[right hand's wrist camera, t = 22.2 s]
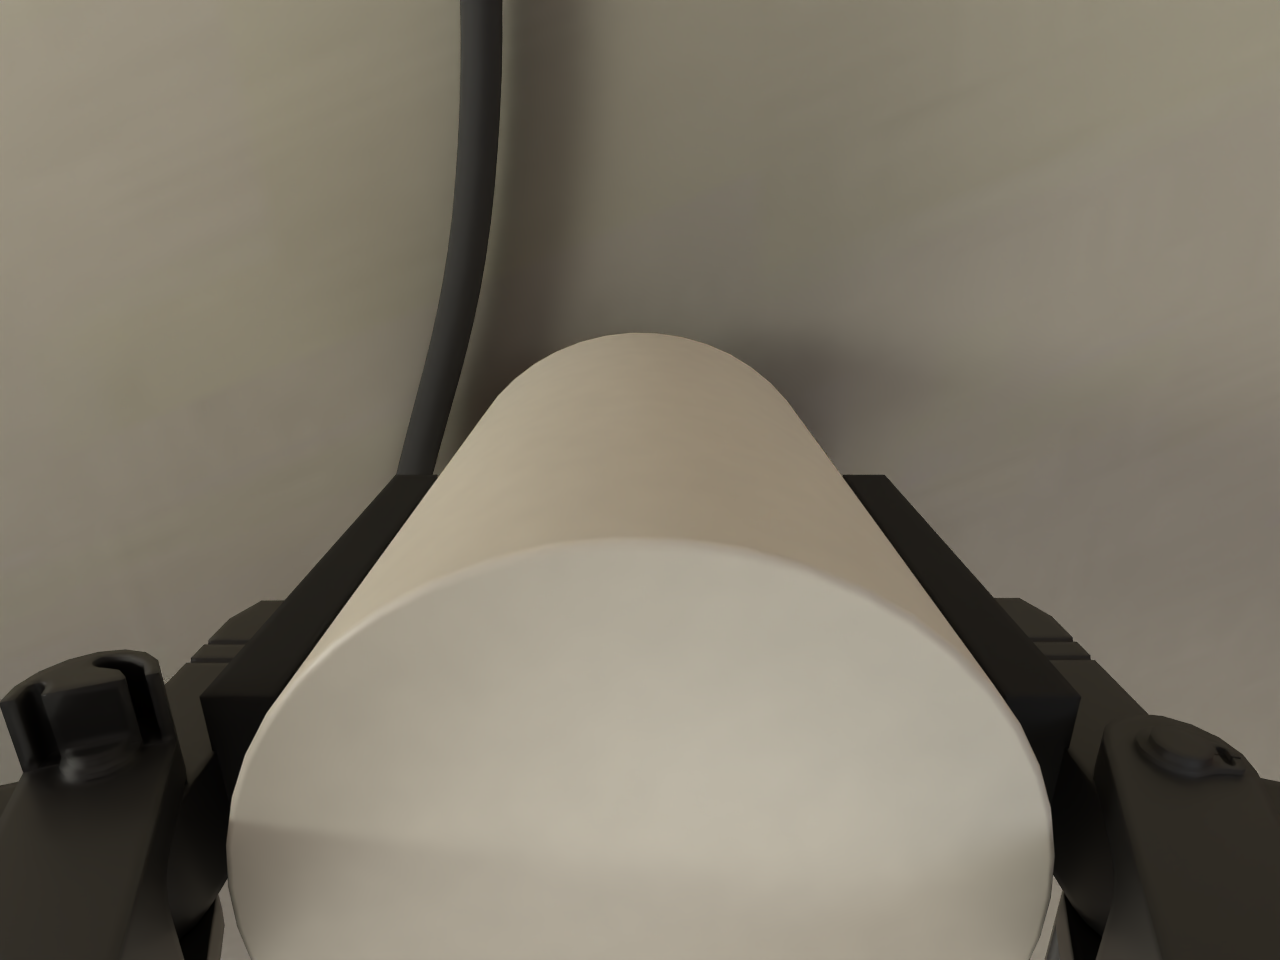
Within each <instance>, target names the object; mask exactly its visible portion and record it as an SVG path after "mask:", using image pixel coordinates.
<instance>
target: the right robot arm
mask: <svg viewBox="0 0 1280 960" xmlns="http://www.w3.org/2000/svg"><path fill="white" fill-rule="evenodd" d="M460 15H461V78H460V111H459V133H458V150H457V166H456V181H455V192H454V203H453V214H452V222H451V230H450V238H449V246H448V253H447V260H446V266H445V272H444V279H443V284H442V289H441V295H440V300H439V305H438V310H437V315H436V319H435V324H434V328H433V333H432V337H431V341H430V345H429V349H428V354H427V358H426V362H425V366H424V370H423V373H422V377H421V381H420V385H419V389H418V393H417V396H416V400H415V404H414V408H413V411H412V415H411V419H410V423H409V427H408V430H407V434H406V438H405V442H404V446H403V450H402V454H401V458H400V462H399V466H398V470H397V474H396V475H395V476H394V478H393V479H392V480H391V481H390V482H389V483H388V484H387V485H386V487H385V488H384V489H383V490H382V491H381V492H380V493H379V494H378V496H377V497H376V498H375V499H374V500H373V501H372V502H371V504H370V505H369V506H368V507H367V508H366V509H365V510H364V511H363V513H362V514H361V515H360V516H359V517H358V518H357V519H356V520H355V522H354V523H353V524H352V525H351V526H350V527H349V528H348V529H347V531H346V532H345V533H344V534H343V535H342V536H341V537H340V538H339V540H338V541H337V542H336V543H335V544H334V545H333V546H332V547H331V549H330V550H329V551H328V552H327V553H326V554H325V555H324V557H323V558H322V559H321V560H320V561H319V562H318V563H317V564H316V566H315V567H314V568H313V569H312V570H311V571H310V572H309V573H308V575H307V576H306V577H305V578H304V579H303V580H302V581H301V582H300V584H299V585H298V586H297V587H296V588H295V589H294V590H293V591H292V593H291V594H290V595H289V596H288V597H287V598H286V599H285V600H284V601H260V602H258V603H256V604H255V605H253V606H251V607H249V608H248V609H246V610H244V611H242V612H241V613H239V614H237V615H235V616H234V617H232V618H230V619H229V620H228V621H227V622H226V623H225V624H224V625H223V626H222V627H221V628H220V629H219V630H218V631H217V632H216V633H215V634H214V635H213V636H212V637H211V638H210V639H209V643H208V645H203V646H202V648H201V649H200V650H199V651H198V652H197V653H196V654H195V655H194V656H193V657H192V658H191V663H186V664H185V665H184V666H183V667H182V668H181V669H180V670H179V671H178V672H177V673H176V674H175V675H174V676H173V677H172V678H171V679H170V680H169V681H168V682H167V683H166V684H165V685H164V681H163V677H162V674H161V670H160V666H159V662H158V660H157V659H155V658H154V657H152V656H151V655H149V654H148V653H146V652H140V651H133V650H115V651H104V652H97V653H93V654H89V655H85V656H81V657H77V658H73V659H69V660H66V661H64V662H61V663H59V664H57V665H54V666H52V667H49V668H47V669H44V670H42V671H39V672H38V673H36V674H34V675H33V676H31V677H29V678H28V679H26V680H25V681H23V682H21V683H20V684H18V685H16V686H15V687H14V688H13V689H12V690H11V691H10V692H9V693H8V694H7V695H6V696H5V697H4V698H3V699H2V700H1V701H0V708H1V710H2V713H3V716H4V719H5V722H6V725H7V727H8V730H9V733H10V736H11V739H12V742H13V745H14V747H15V750H16V753H17V756H18V759H19V762H20V765H21V767H22V770H23V775H22V776H21V778H20V780H19V782H15V783H11V784H6V785H1V786H0V960H220V957H221V949H222V942H223V934H224V926H225V925H224V918H223V911H222V906H221V902H220V899H219V895H218V893H219V892H220V890H221V888H222V887H223V885H224V883H225V882H226V880H227V878H228V872H227V853H226V842H227V833H228V825H229V817H230V809H231V801H232V795H233V792H234V789H235V786H236V782H237V779H238V776H239V773H240V770H241V766H242V763H243V760H244V757H245V754H246V752H247V750H248V748H249V746H250V744H251V742H252V740H253V738H254V737H255V735H256V733H257V731H258V729H259V727H260V725H261V723H262V721H263V719H264V717H265V715H266V713H267V712H268V711H269V709H270V708H271V706H272V705H273V704H274V702H275V701H276V700H277V698H278V697H279V695H280V694H281V693H282V691H283V690H284V689H285V687H286V686H287V684H288V683H289V682H290V680H291V679H292V678H293V676H294V675H295V673H296V672H297V671H298V669H299V668H300V667H301V665H302V664H303V662H304V661H305V660H306V658H307V657H308V656H309V654H310V653H311V651H312V650H313V649H314V647H315V646H316V645H317V643H318V642H319V640H320V639H321V638H322V636H323V635H324V634H325V632H326V631H327V629H328V628H329V627H330V625H331V624H332V623H333V621H334V620H335V619H336V617H337V616H338V614H339V613H340V612H341V610H342V609H343V608H344V606H345V605H346V603H347V602H348V601H349V599H350V598H351V597H352V595H353V594H354V592H355V591H356V590H357V588H358V587H359V586H360V584H361V583H362V581H363V580H364V579H365V577H366V576H367V575H368V573H369V572H370V570H371V569H372V568H373V566H374V565H375V564H376V562H377V561H378V559H379V558H380V557H381V555H382V554H383V553H384V551H385V550H386V548H387V547H388V546H389V544H390V543H391V542H392V540H393V539H394V537H395V536H396V535H397V533H398V532H399V531H400V529H401V528H402V526H403V525H404V524H405V522H406V521H407V520H408V518H409V517H410V515H411V514H412V513H413V511H414V510H415V509H416V507H417V506H418V505H419V503H420V502H421V500H422V499H423V498H424V496H425V495H426V494H427V492H428V491H429V489H430V488H431V487H432V485H433V484H434V483H435V481H436V480H437V478H438V475H433V471H434V467H435V464H436V460H437V456H438V453H439V449H440V445H441V442H442V438H443V435H444V431H445V427H446V424H447V420H448V417H449V413H450V410H451V406H452V403H453V399H454V395H455V392H456V388H457V385H458V381H459V377H460V374H461V370H462V366H463V362H464V358H465V355H466V351H467V347H468V343H469V339H470V334H471V330H472V326H473V322H474V317H475V312H476V308H477V303H478V298H479V293H480V288H481V282H482V277H483V271H484V265H485V260H486V253H487V246H488V239H489V232H490V224H491V215H492V206H493V197H494V187H495V175H496V163H497V151H498V136H499V120H500V101H501V77H502V0H460ZM843 478H844V480H845V481H846V483H847V484H848V485H849V487H850V488H851V489H852V491H853V492H854V494H855V495H856V496H857V498H858V499H859V500H860V502H861V503H862V505H863V506H864V507H865V509H866V510H867V511H868V513H869V514H870V516H871V517H872V518H873V520H874V521H875V522H876V524H877V525H878V527H879V528H880V529H881V531H882V532H883V533H884V535H885V536H886V538H887V539H888V540H889V542H890V543H891V544H892V546H893V547H894V549H895V550H896V551H897V553H898V554H899V555H900V557H901V558H902V560H903V561H904V562H905V564H906V565H907V566H908V568H909V569H910V571H911V572H912V573H913V575H914V576H915V577H916V579H917V580H918V582H919V583H920V584H921V586H922V587H923V588H924V590H925V591H926V593H927V594H928V595H929V597H930V598H931V599H932V601H933V602H934V604H935V605H936V606H937V608H938V609H939V610H940V612H941V613H942V615H943V616H944V617H945V619H946V620H947V621H948V623H949V624H950V626H951V627H952V628H953V630H954V631H955V632H956V634H957V635H958V637H959V638H960V639H961V641H962V642H963V643H964V645H965V646H966V648H967V649H968V650H969V652H970V653H971V654H972V656H973V657H974V659H975V660H976V661H977V663H978V664H979V665H980V667H981V668H982V670H983V671H984V672H985V674H986V675H987V676H988V678H989V679H990V681H991V682H992V683H993V685H994V686H995V688H996V689H997V691H998V692H999V693H1000V695H1001V696H1002V698H1003V699H1004V701H1005V702H1006V704H1007V705H1008V707H1009V708H1010V709H1011V711H1012V712H1013V714H1014V715H1015V717H1016V718H1017V720H1018V721H1019V723H1020V724H1021V726H1022V728H1023V731H1024V733H1025V735H1026V737H1027V739H1028V741H1029V744H1030V746H1031V748H1032V750H1033V752H1034V754H1035V757H1036V759H1037V761H1038V763H1039V765H1040V769H1041V773H1042V776H1043V780H1044V784H1045V788H1046V792H1047V795H1048V799H1049V803H1050V807H1051V815H1052V828H1053V840H1054V853H1055V859H1054V870H1053V875H1054V877H1055V878H1056V880H1057V882H1058V883H1059V885H1060V887H1061V888H1062V890H1063V891H1062V895H1061V899H1060V902H1059V906H1058V910H1057V914H1056V918H1055V922H1054V926H1053V930H1052V933H1051V937H1050V941H1049V945H1048V949H1047V953H1046V957H1045V960H1280V782H1277V781H1272V780H1267V779H1263V778H1260V777H1259V775H1258V773H1257V771H1256V770H1255V769H1254V768H1253V767H1252V765H1251V764H1250V763H1249V762H1248V760H1247V759H1246V758H1245V757H1244V756H1243V754H1241V753H1240V752H1239V751H1237V750H1236V749H1234V748H1233V747H1232V746H1230V745H1229V744H1227V743H1226V742H1225V741H1223V740H1222V739H1220V738H1219V737H1217V736H1215V735H1212V734H1210V733H1208V732H1206V731H1204V730H1202V729H1200V728H1198V727H1196V726H1193V725H1191V724H1188V723H1184V722H1181V721H1178V720H1174V719H1171V718H1167V717H1164V716H1156V715H1148V714H1147V712H1146V711H1145V710H1144V709H1143V708H1142V707H1141V706H1140V705H1139V704H1138V703H1137V702H1136V701H1135V700H1134V699H1133V698H1132V697H1131V696H1130V695H1129V694H1128V693H1127V692H1126V691H1125V690H1124V689H1123V688H1122V687H1121V686H1120V685H1119V684H1118V683H1117V682H1116V681H1115V680H1114V679H1113V678H1112V677H1111V676H1110V675H1109V674H1108V673H1107V672H1106V671H1105V670H1104V669H1103V668H1102V667H1101V666H1100V665H1099V664H1098V663H1097V662H1096V661H1095V660H1091V659H1090V655H1089V654H1088V653H1087V652H1086V651H1085V650H1084V649H1083V648H1082V647H1081V646H1080V645H1079V644H1078V643H1077V642H1073V638H1072V636H1071V635H1070V634H1069V633H1068V632H1067V631H1066V630H1065V629H1064V628H1063V627H1062V626H1061V625H1060V624H1059V623H1058V622H1057V621H1056V620H1055V619H1054V618H1053V617H1052V616H1050V615H1048V614H1047V613H1045V612H1043V611H1041V610H1040V609H1038V608H1036V607H1034V606H1032V605H1031V604H1029V603H1027V602H1025V601H1024V600H1022V599H1020V598H993V596H992V595H991V594H990V593H989V592H988V591H987V590H986V589H985V587H984V586H983V585H982V584H981V583H980V582H979V581H978V580H977V578H976V577H975V576H974V575H973V574H972V573H971V572H970V571H969V569H968V568H967V567H966V566H965V565H964V564H963V563H962V562H961V560H960V559H959V558H958V557H957V556H956V555H955V554H954V553H953V551H952V550H951V549H950V548H949V547H948V546H947V545H946V543H945V542H944V541H943V540H942V539H941V538H940V537H939V536H938V534H937V533H936V532H935V531H934V530H933V529H932V528H931V527H930V525H929V524H928V523H927V522H926V521H925V520H924V519H923V518H922V516H921V515H920V514H919V513H918V512H917V511H916V510H915V509H914V507H913V506H912V505H911V504H910V503H909V502H908V501H907V500H906V498H905V497H904V496H903V495H902V494H901V493H900V492H899V491H898V489H897V488H896V487H895V486H894V485H893V484H892V483H891V482H890V480H889V479H888V478H887V477H886V476H885V475H843Z"/></svg>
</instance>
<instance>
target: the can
mask: <svg viewBox="0 0 1280 960" xmlns="http://www.w3.org/2000/svg"><path fill="white" fill-rule="evenodd" d="M226 853H227V872H228V888H229V892H230V896H231V901H232V905H233V909H234V914H235V918H236V923H237V927H238V929H239V932H240V934H241V937H242V939H243V941H244V944H245V946H246V949H247V951H248V954H249V956H250V959H251V960H1030V957H1031V955H1032V953H1033V951H1034V949H1035V947H1036V944H1037V942H1038V940H1039V938H1040V935H1041V931H1042V928H1043V924H1044V920H1045V917H1046V913H1047V909H1048V906H1049V902H1050V898H1051V890H1052V880H1053V870H1054V859H1055V853H1054V840H1053V828H1052V815H1051V807H1050V803H1049V799H1048V795H1047V792H1046V788H1045V784H1044V780H1043V776H1042V773H1041V769H1040V765H1039V763H1038V761H1037V759H1036V757H1035V754H1034V752H1033V750H1032V748H1031V746H1030V744H1029V741H1028V739H1027V737H1026V735H1025V733H1024V731H1023V728H1022V726H1021V724H1020V723H1019V721H1018V720H1017V718H1016V717H1015V715H1014V714H1013V712H1012V711H1011V709H1010V708H1009V707H1008V705H1007V704H1006V702H1005V701H1004V699H1003V698H1002V696H1001V695H1000V693H999V692H998V691H997V689H996V688H995V686H994V685H993V683H992V682H991V681H990V679H989V678H988V676H987V675H986V674H985V672H984V671H983V670H982V668H981V667H980V665H979V664H978V663H977V661H976V660H975V659H974V657H973V656H972V654H971V653H970V652H969V650H968V649H967V648H966V646H965V645H964V643H963V642H962V641H961V639H960V638H959V637H958V635H957V634H956V632H955V631H954V630H953V628H952V627H951V626H950V624H949V623H948V621H947V620H946V619H945V617H944V616H943V615H942V613H941V612H940V610H939V609H938V608H937V606H936V605H935V604H934V602H933V601H932V599H931V598H930V597H929V595H928V594H927V593H926V591H925V590H924V588H923V587H922V586H921V584H920V583H919V582H918V580H917V579H916V577H915V576H914V575H913V573H912V572H911V571H910V569H909V568H908V566H907V565H906V564H905V562H904V561H903V560H902V558H901V557H900V555H899V554H898V553H897V551H896V550H895V549H894V547H893V546H892V544H891V543H890V542H889V540H888V539H887V538H886V536H885V535H884V533H883V532H882V531H881V529H880V528H879V527H878V525H877V524H876V522H875V521H874V520H873V518H872V517H871V516H870V514H869V513H868V511H867V510H866V509H865V507H864V506H863V505H862V503H861V502H860V500H859V499H858V498H857V496H856V495H855V494H854V492H853V491H852V489H851V488H850V487H849V485H848V484H847V483H846V481H845V480H844V478H843V477H842V476H841V474H840V473H839V472H838V470H837V469H836V467H835V466H834V465H833V463H832V462H831V461H830V459H829V458H828V456H827V455H826V454H825V452H824V451H823V450H822V448H821V447H820V446H819V444H818V443H817V441H816V440H815V439H814V437H813V436H812V435H811V433H810V432H809V430H808V429H807V428H806V426H805V425H804V424H803V422H802V421H801V419H800V418H799V417H798V415H797V414H796V413H795V411H794V410H793V408H792V407H791V406H790V404H789V403H788V402H787V400H786V399H785V398H784V397H783V396H782V395H781V394H780V393H779V392H778V391H777V389H776V388H775V387H774V386H773V385H772V384H771V383H770V382H769V381H767V380H766V379H765V378H764V377H763V376H761V375H760V374H759V373H758V372H757V371H755V370H754V369H753V368H752V367H750V366H748V365H747V364H745V363H743V362H742V361H740V360H739V359H737V358H735V357H734V356H732V355H730V354H728V353H726V352H724V351H721V350H719V349H717V348H715V347H712V346H710V345H708V344H705V343H701V342H698V341H694V340H691V339H687V338H684V337H679V336H672V335H665V334H659V333H624V334H616V335H607V336H602V337H598V338H594V339H590V340H586V341H582V342H579V343H576V344H574V345H571V346H569V347H566V348H564V349H561V350H559V351H556V352H555V353H553V354H551V355H549V356H548V357H546V358H544V359H542V360H540V361H539V362H537V363H535V364H534V365H532V366H531V367H530V368H528V369H527V370H526V371H525V372H523V373H522V374H521V375H519V376H518V377H517V378H515V379H514V380H513V381H512V382H511V383H510V384H509V385H508V386H507V387H506V388H505V389H504V390H503V391H502V392H501V393H500V394H499V395H498V396H497V398H496V399H495V400H494V402H493V403H492V405H491V406H490V407H489V409H488V410H487V411H486V413H485V414H484V415H483V417H482V418H481V419H480V421H479V422H478V423H477V425H476V426H475V428H474V429H473V430H472V432H471V433H470V434H469V436H468V437H467V439H466V440H465V441H464V443H463V444H462V445H461V447H460V448H459V450H458V451H457V452H456V454H455V455H454V456H453V458H452V459H451V461H450V462H449V463H448V465H447V466H446V467H445V469H444V470H443V472H442V473H441V474H440V476H439V477H438V478H437V480H436V481H435V483H434V484H433V485H432V487H431V488H430V489H429V491H428V492H427V494H426V495H425V496H424V498H423V499H422V500H421V502H420V503H419V505H418V506H417V507H416V509H415V510H414V511H413V513H412V514H411V515H410V517H409V518H408V520H407V521H406V522H405V524H404V525H403V526H402V528H401V529H400V531H399V532H398V533H397V535H396V536H395V537H394V539H393V540H392V542H391V543H390V544H389V546H388V547H387V548H386V550H385V551H384V553H383V554H382V555H381V557H380V558H379V559H378V561H377V562H376V564H375V565H374V566H373V568H372V569H371V570H370V572H369V573H368V575H367V576H366V577H365V579H364V580H363V581H362V583H361V584H360V586H359V587H358V588H357V590H356V591H355V592H354V594H353V595H352V597H351V598H350V599H349V601H348V602H347V603H346V605H345V606H344V608H343V609H342V610H341V612H340V613H339V614H338V616H337V617H336V619H335V620H334V621H333V623H332V624H331V625H330V627H329V628H328V629H327V631H326V632H325V634H324V635H323V636H322V638H321V639H320V640H319V642H318V643H317V645H316V646H315V647H314V649H313V650H312V651H311V653H310V654H309V656H308V657H307V658H306V660H305V661H304V662H303V664H302V665H301V667H300V668H299V669H298V671H297V672H296V673H295V675H294V676H293V678H292V679H291V680H290V682H289V683H288V684H287V686H286V687H285V689H284V690H283V691H282V693H281V694H280V695H279V697H278V698H277V700H276V701H275V702H274V704H273V705H272V706H271V708H270V709H269V711H268V712H267V713H266V715H265V717H264V719H263V721H262V723H261V725H260V727H259V729H258V731H257V733H256V735H255V737H254V738H253V740H252V742H251V744H250V746H249V748H248V750H247V752H246V754H245V757H244V760H243V763H242V766H241V770H240V773H239V776H238V779H237V782H236V786H235V789H234V792H233V795H232V801H231V809H230V817H229V825H228V833H227V842H226Z"/></svg>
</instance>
